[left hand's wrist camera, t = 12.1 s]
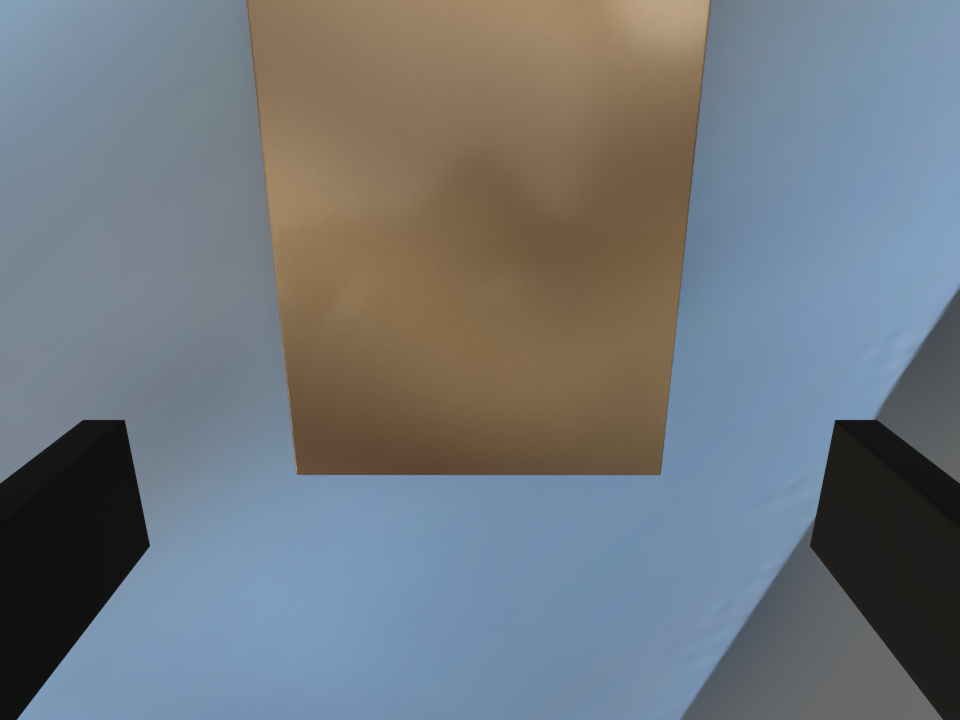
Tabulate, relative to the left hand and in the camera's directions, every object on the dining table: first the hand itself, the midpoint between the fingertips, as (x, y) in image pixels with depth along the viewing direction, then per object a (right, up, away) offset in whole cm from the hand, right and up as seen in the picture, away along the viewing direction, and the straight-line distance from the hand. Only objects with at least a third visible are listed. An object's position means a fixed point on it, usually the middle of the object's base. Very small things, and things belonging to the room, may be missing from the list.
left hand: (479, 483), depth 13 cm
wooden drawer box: (0, +13, +16) cm, 20 cm away
